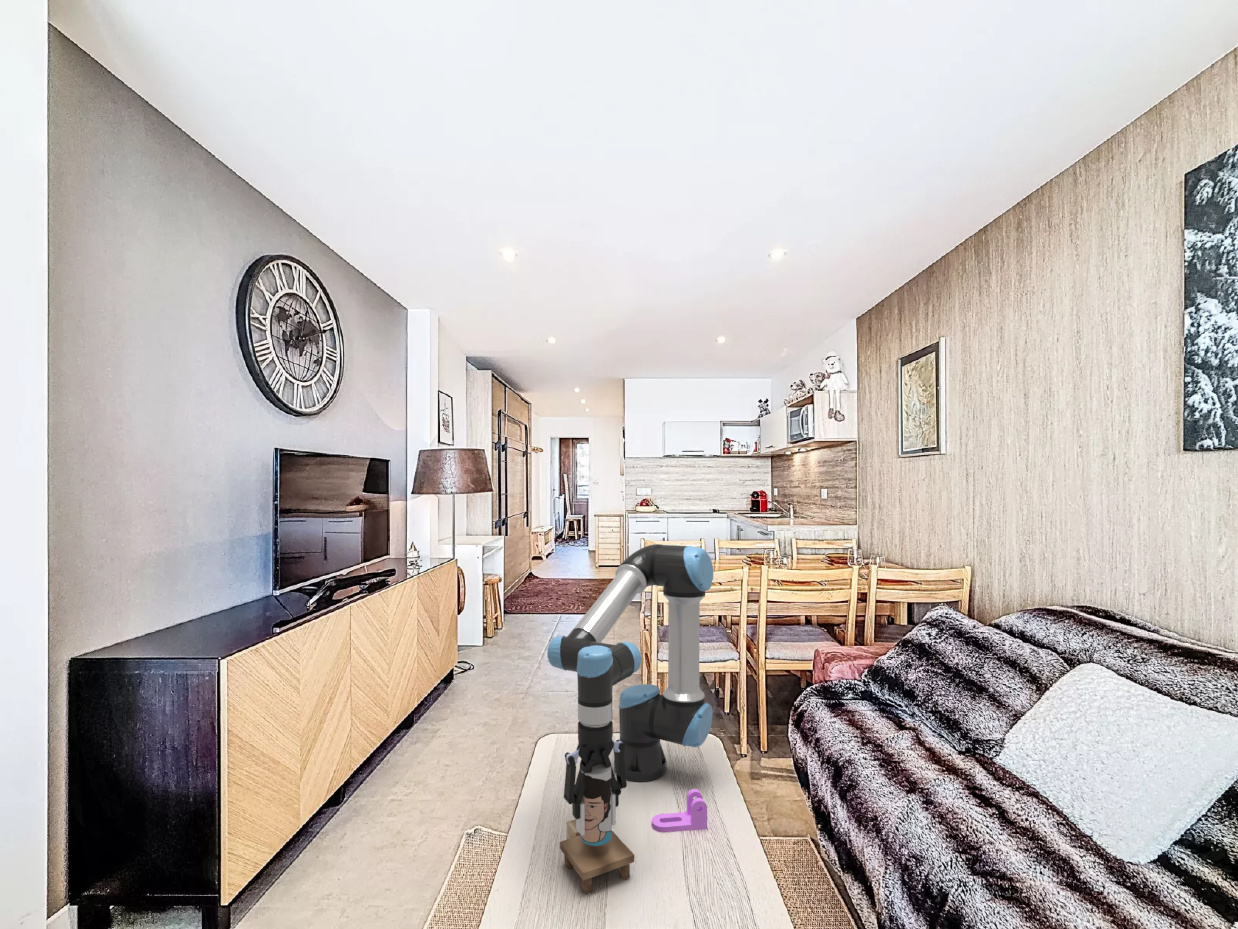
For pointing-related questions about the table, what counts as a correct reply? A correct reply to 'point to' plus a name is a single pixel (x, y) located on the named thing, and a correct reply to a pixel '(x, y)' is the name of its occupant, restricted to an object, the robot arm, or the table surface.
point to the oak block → (572, 829)
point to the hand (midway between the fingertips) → (596, 826)
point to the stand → (596, 859)
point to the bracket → (684, 816)
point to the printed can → (597, 806)
